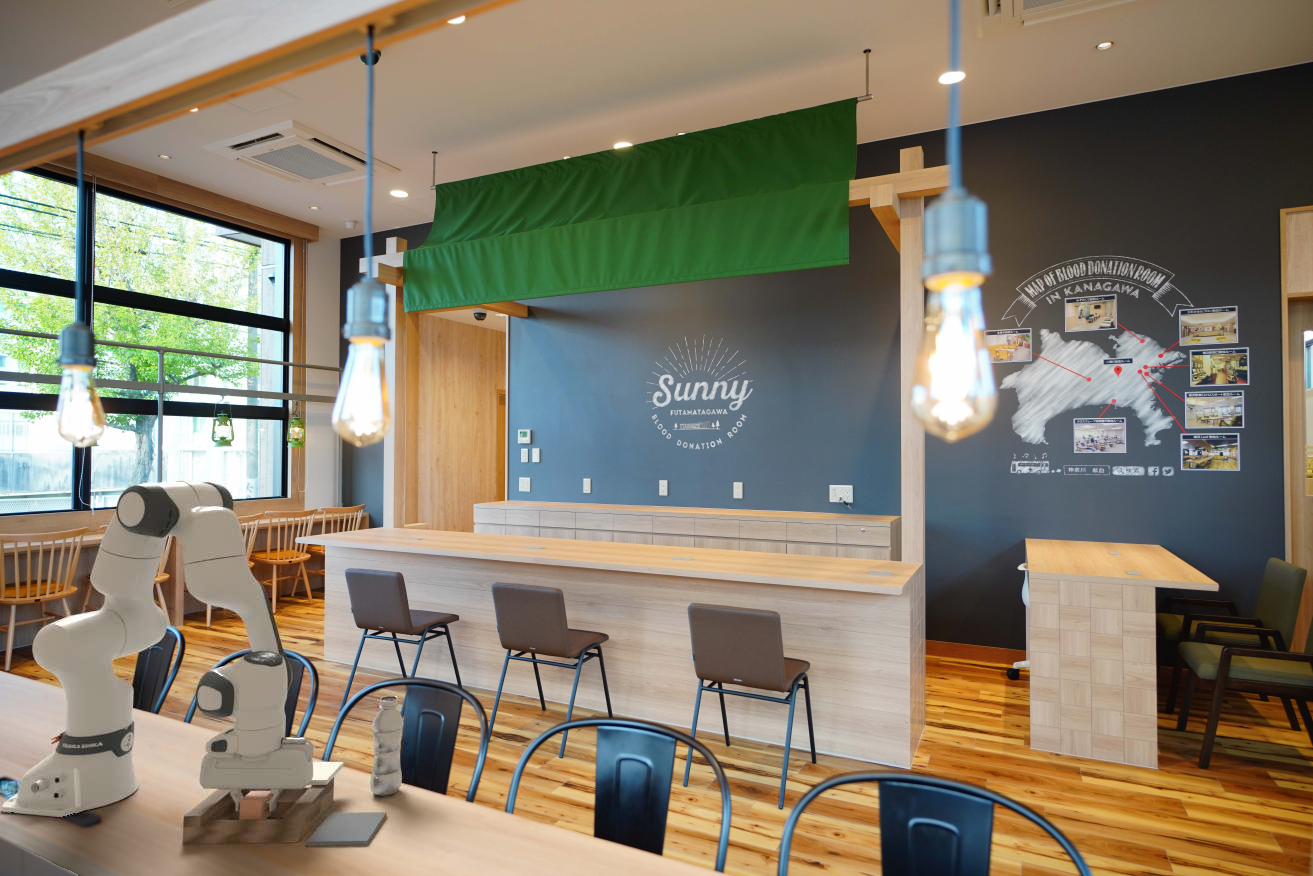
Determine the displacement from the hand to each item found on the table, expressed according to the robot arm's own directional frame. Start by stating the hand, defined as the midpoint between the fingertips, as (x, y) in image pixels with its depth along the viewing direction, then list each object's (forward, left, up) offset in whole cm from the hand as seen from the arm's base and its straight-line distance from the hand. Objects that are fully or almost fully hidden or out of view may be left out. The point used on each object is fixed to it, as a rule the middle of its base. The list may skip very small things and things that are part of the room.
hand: (255, 809), depth 137 cm
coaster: (+18, -2, -3) cm, 19 cm away
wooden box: (0, +2, -3) cm, 4 cm away
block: (0, 0, -2) cm, 2 cm away
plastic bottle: (+20, +14, -3) cm, 25 cm away
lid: (0, +10, +2) cm, 11 cm away
